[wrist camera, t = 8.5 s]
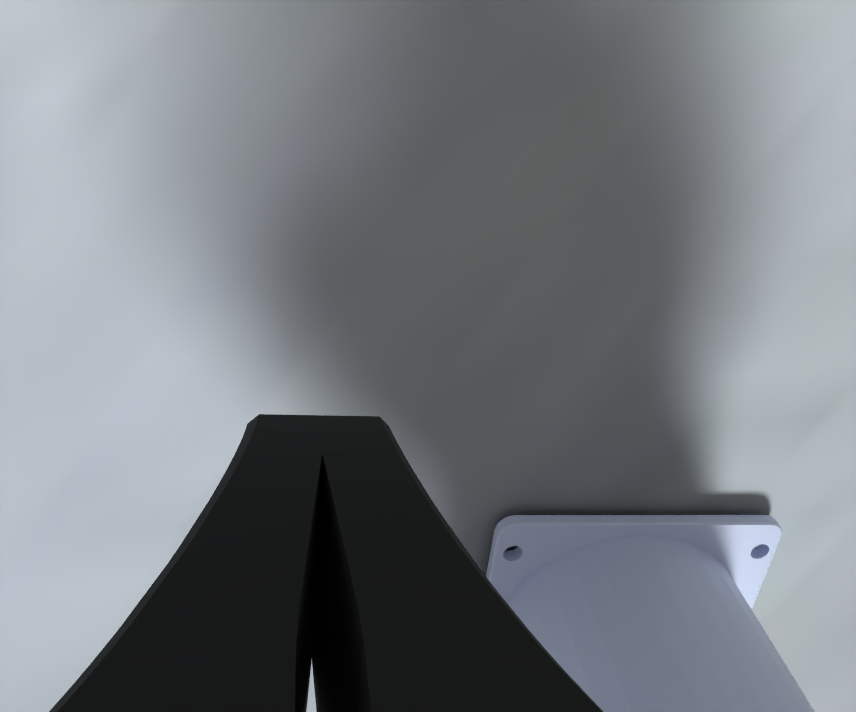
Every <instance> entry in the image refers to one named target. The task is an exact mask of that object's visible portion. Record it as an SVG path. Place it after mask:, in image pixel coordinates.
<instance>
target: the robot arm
mask: <svg viewBox="0 0 856 712" xmlns="http://www.w3.org/2000/svg"><path fill="white" fill-rule="evenodd" d="M781 536H782V529H781V527H780V525H779V524H778V522H777V521H776V520H775V519H774V518H773V517H771V516H768V515H513V516H508V517H506V518H504V519H502V520H501V521H500V522H499V523H498V524H497V525H496V528H495V530H494V535H493V541H492V546H491V551H490V557H489V562H488V567H487V573H486V576H485V575H484V573H483V572H482V571H481V569H480V568H479V567H478V565H477V564H476V563H475V561H474V560H473V559H472V557H471V556H470V554H469V553H468V552H467V550H466V549H465V547H464V546H463V545H462V543H461V542H460V540H459V539H458V538H457V536H456V535H455V533H454V532H453V531H452V529H451V528H450V526H449V525H448V524H447V522H446V521H445V519H444V518H443V516H442V515H441V513H440V512H439V510H438V509H437V507H436V506H435V504H434V503H433V501H432V500H431V498H430V497H429V495H428V494H427V492H426V490H425V489H424V487H423V486H422V484H421V482H420V481H419V479H418V478H417V476H416V474H415V473H414V471H413V469H412V468H411V466H410V464H409V463H408V461H407V459H406V458H405V456H404V454H403V452H402V451H401V449H400V447H399V445H398V443H397V441H396V439H395V438H394V436H393V434H392V432H391V430H390V427H389V426H388V425H387V424H386V423H385V422H384V421H383V420H382V419H381V418H380V417H371V416H317V415H264V414H259V415H258V416H257V417H255V418H254V419H253V420H252V421H250V422H249V423H248V424H247V427H246V430H245V433H244V436H243V438H242V440H241V442H240V445H239V447H238V449H237V451H236V453H235V455H234V457H233V459H232V461H231V463H230V465H229V467H228V469H227V471H226V472H225V474H224V476H223V478H222V479H221V481H220V483H219V485H218V486H217V488H216V490H215V492H214V493H213V495H212V497H211V498H210V500H209V502H208V503H207V505H206V506H205V508H204V509H203V511H202V513H201V514H200V516H199V517H198V519H197V520H196V522H195V523H194V525H193V527H192V528H191V530H190V531H189V533H188V534H187V536H186V537H185V539H184V541H183V542H182V544H181V545H180V547H179V548H178V550H177V551H176V553H175V554H174V556H173V557H172V558H171V560H170V561H169V563H168V564H167V565H166V567H165V568H164V570H163V571H162V572H161V574H160V575H159V576H158V578H157V579H156V580H155V582H154V583H153V584H152V586H151V587H150V588H149V590H148V591H147V592H146V594H145V595H144V596H143V598H142V599H141V600H140V602H139V603H138V604H137V606H136V607H135V608H134V610H133V611H132V612H131V614H130V615H129V616H128V618H127V619H126V621H125V622H124V623H123V625H122V626H121V627H120V628H119V630H118V631H117V632H116V633H115V635H114V636H113V637H112V638H111V640H110V641H109V642H108V643H107V645H106V646H105V647H104V648H103V650H102V651H101V652H100V653H99V654H98V656H97V657H96V658H95V659H94V661H93V662H92V663H91V664H90V665H89V667H88V668H87V669H86V670H85V671H84V672H83V674H82V675H81V676H80V677H79V678H78V680H77V681H76V682H75V683H74V684H73V685H72V687H71V688H70V689H69V690H68V691H67V692H66V693H65V695H64V696H63V697H62V698H61V699H60V700H59V701H58V702H57V704H56V705H55V706H54V707H53V708H52V709H51V710H50V711H49V712H306V708H307V699H308V689H309V679H310V669H311V659H312V665H313V676H314V687H315V698H316V709H317V712H814V710H813V708H812V707H811V705H810V703H809V702H808V700H807V699H806V697H805V695H804V694H803V692H802V690H801V689H800V687H799V686H798V684H797V682H796V681H795V679H794V677H793V676H792V674H791V673H790V671H789V669H788V668H787V666H786V664H785V663H784V661H783V660H782V658H781V656H780V655H779V653H778V651H777V650H776V648H775V647H774V645H773V643H772V642H771V640H770V638H769V637H768V635H767V634H766V632H765V630H764V629H763V627H762V626H761V624H760V622H759V621H758V619H757V617H756V616H755V614H754V613H753V611H752V608H753V605H754V603H755V600H756V598H757V595H758V593H759V590H760V588H761V585H762V583H763V580H764V578H765V576H766V573H767V571H768V568H769V566H770V563H771V561H772V558H773V556H774V553H775V551H776V548H777V546H778V543H779V541H780V539H781ZM757 545H759V546H758V547H756V546H757ZM511 546H518V547H517V548H515V549H514V550H510V551H506V549H507V548H508V547H511ZM754 547H756V548H754Z"/></svg>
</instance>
